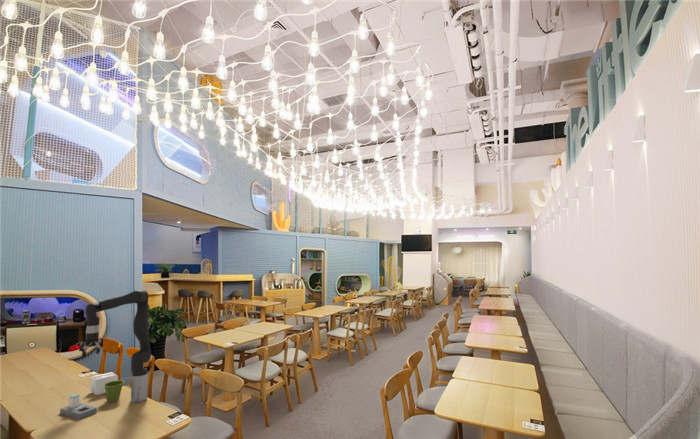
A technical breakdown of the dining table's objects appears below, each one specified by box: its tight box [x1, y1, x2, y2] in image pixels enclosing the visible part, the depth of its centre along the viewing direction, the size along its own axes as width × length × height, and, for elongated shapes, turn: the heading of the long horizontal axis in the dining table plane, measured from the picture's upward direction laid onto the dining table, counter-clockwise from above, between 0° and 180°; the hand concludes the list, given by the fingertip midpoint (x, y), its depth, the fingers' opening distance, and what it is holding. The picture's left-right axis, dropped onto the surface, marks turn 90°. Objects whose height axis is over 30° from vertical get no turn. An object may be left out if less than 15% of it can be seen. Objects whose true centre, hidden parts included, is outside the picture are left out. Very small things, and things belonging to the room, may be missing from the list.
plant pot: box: [104, 379, 125, 403], centre depth 237 cm, size 12×12×11 cm
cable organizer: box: [89, 371, 119, 396], centre depth 252 cm, size 15×11×12 cm
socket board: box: [59, 402, 98, 420], centre depth 218 cm, size 20×10×3 cm, turn 67°
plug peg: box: [68, 393, 80, 409], centre depth 220 cm, size 4×4×10 cm
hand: (90, 355), depth 239 cm, fingers open, 8 cm apart
